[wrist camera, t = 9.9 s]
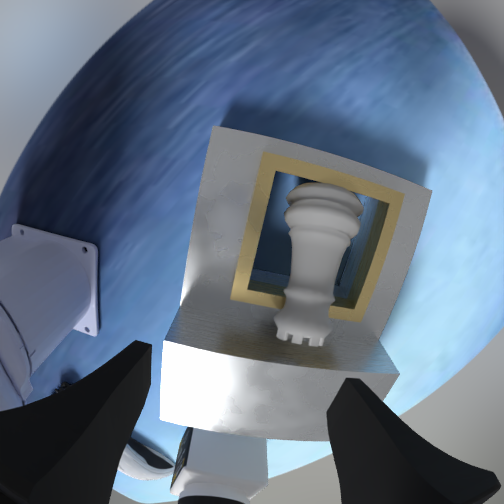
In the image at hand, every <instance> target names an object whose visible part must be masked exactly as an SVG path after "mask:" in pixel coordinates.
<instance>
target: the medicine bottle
mask: <svg viewBox="0 0 504 504" xmlns="http://www.w3.org/2000/svg"><path fill="white" fill-rule="evenodd" d="M267 485H268V465H267V442H266V438H258V437H249V436H241V435H234V434H227V433H221V432H215V431H210V430H205V429H199V428H195V427H190V426H188V427H187V429H186V431H185V434H184V436H183V438H182V440H181V442H180V446H179V450H178V455H177V459H176V464H175V469H174V473H173V478H172V483H171V488H170V493H171V494H173V495H177V496H179V500H178V504H250V501H249V500H250V499H252V498H253V497H254V496H255V495H257V494H258V493H259V492H260V491H261V490H263V489H264V488H265V487H266V486H267Z"/></svg>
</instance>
